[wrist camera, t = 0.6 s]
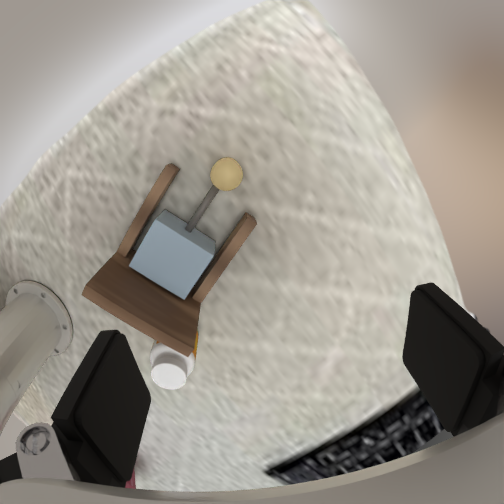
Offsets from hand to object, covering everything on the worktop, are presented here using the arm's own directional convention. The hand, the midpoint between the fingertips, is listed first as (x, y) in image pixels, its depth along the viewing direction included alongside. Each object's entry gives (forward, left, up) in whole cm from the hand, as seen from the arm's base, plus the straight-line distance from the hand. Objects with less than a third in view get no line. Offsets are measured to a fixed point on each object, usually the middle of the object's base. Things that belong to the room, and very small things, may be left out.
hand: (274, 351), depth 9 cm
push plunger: (-4, +3, -27) cm, 28 cm away
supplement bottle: (-19, -3, -28) cm, 34 cm away
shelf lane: (-7, +3, -28) cm, 29 cm away
